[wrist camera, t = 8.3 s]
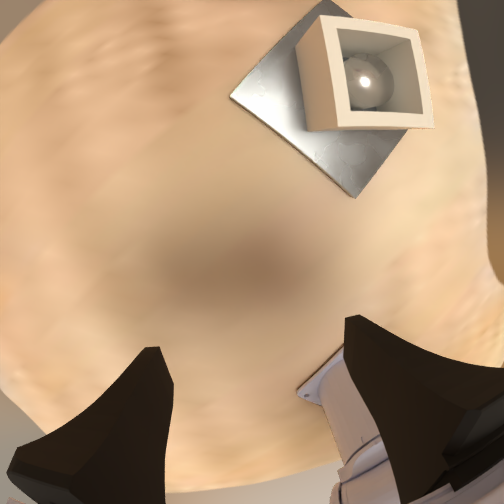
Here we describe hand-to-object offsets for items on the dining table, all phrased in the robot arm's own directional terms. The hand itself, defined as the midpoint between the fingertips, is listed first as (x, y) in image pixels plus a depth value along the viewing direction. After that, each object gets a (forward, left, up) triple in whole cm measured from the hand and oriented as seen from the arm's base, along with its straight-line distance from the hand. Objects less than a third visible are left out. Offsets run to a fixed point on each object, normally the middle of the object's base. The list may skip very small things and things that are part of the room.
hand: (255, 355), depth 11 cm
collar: (+2, -13, -9) cm, 16 cm away
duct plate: (+2, -13, -9) cm, 16 cm away
